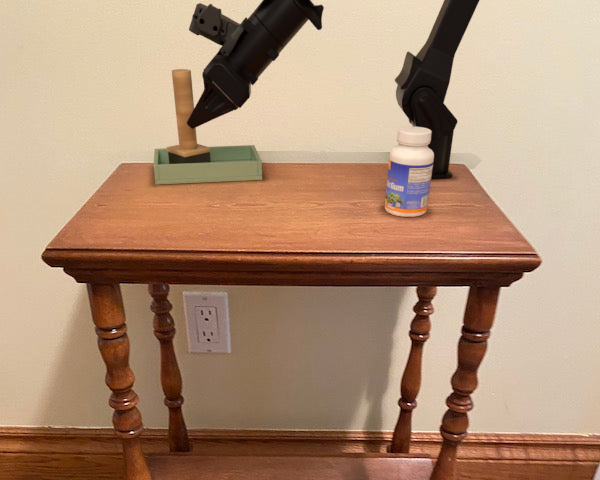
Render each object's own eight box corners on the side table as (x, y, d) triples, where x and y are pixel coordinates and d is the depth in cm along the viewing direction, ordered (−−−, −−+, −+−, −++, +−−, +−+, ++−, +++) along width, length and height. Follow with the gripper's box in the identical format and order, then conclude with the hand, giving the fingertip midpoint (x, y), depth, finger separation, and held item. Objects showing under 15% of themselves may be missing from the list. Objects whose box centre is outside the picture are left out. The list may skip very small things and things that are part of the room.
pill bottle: (377, 206, 81) (383, 126, 75) (413, 202, 83) (422, 123, 77) (396, 220, 77) (404, 136, 71) (435, 215, 78) (446, 132, 73)
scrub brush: (212, 169, 93) (204, 70, 85) (186, 175, 90) (176, 74, 83) (193, 163, 96) (185, 67, 88) (168, 168, 93) (157, 70, 85)
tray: (254, 162, 98) (254, 144, 97) (262, 179, 91) (261, 161, 89) (156, 166, 96) (154, 148, 95) (155, 184, 89) (153, 165, 87)
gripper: (229, -24, 87) (160, 64, 93) (215, -21, 72) (134, 85, 78) (286, 41, 92) (216, 121, 98) (284, 57, 77) (202, 151, 83)
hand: (193, 119), depth 89 cm, fingers open, 9 cm apart
